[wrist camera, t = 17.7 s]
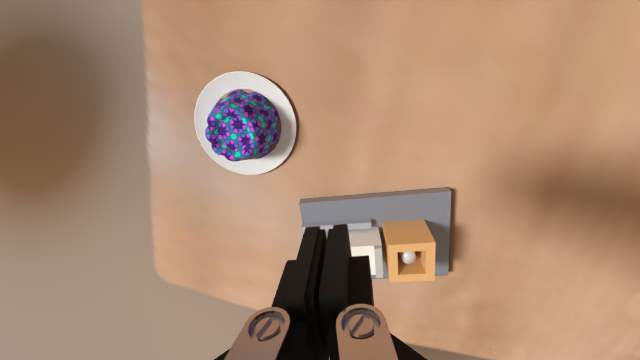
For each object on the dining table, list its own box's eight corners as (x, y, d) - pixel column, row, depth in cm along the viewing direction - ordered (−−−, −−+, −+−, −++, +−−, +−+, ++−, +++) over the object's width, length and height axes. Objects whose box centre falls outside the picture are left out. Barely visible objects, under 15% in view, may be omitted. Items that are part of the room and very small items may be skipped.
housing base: (448, 187, 36) (464, 206, 31) (445, 269, 40) (459, 297, 35) (300, 199, 38) (294, 219, 33) (313, 276, 42) (309, 303, 37)
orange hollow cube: (423, 219, 36) (435, 242, 32) (423, 253, 38) (434, 280, 33) (382, 222, 37) (387, 245, 32) (384, 256, 39) (389, 282, 34)
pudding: (312, 153, 36) (307, 168, 31) (226, 185, 38) (209, 203, 34) (270, 53, 32) (257, 51, 27) (178, 95, 35) (151, 100, 30)
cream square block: (378, 226, 37) (382, 248, 33) (379, 253, 38) (384, 277, 34) (345, 228, 38) (346, 250, 33) (348, 255, 39) (349, 279, 35)
